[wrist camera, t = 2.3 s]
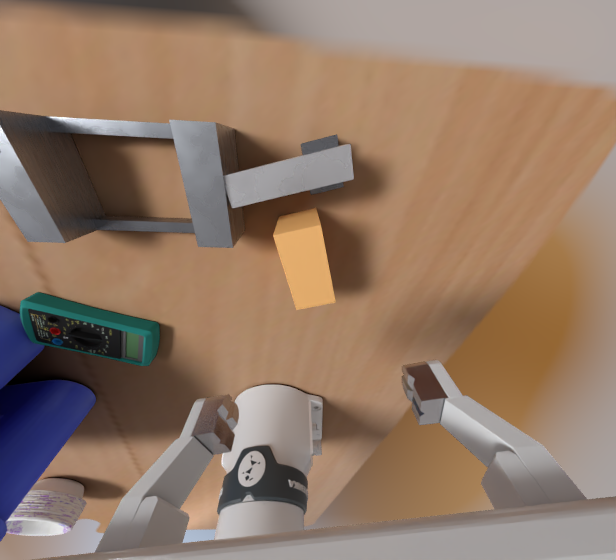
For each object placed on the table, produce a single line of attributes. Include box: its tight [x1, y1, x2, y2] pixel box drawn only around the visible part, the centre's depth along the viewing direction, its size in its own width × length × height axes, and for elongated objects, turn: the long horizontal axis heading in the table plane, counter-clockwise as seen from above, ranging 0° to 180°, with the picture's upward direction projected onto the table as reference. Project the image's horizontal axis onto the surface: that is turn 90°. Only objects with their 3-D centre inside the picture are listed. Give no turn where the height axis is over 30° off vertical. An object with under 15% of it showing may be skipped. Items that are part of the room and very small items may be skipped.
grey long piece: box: [0, 110, 354, 248], centre depth 19 cm, size 37×9×5 cm, turn 87°
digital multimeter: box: [20, 292, 160, 366], centre depth 29 cm, size 7×15×3 cm, turn 67°
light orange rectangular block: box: [273, 208, 335, 310], centre depth 22 cm, size 8×4×6 cm, turn 12°
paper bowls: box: [5, 478, 86, 536], centre depth 53 cm, size 15×15×8 cm
